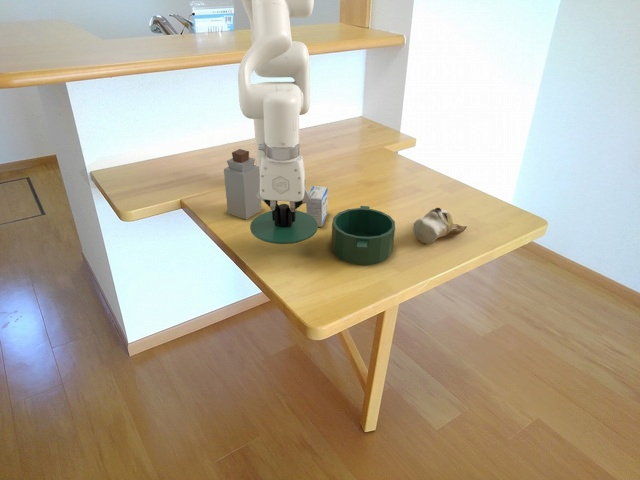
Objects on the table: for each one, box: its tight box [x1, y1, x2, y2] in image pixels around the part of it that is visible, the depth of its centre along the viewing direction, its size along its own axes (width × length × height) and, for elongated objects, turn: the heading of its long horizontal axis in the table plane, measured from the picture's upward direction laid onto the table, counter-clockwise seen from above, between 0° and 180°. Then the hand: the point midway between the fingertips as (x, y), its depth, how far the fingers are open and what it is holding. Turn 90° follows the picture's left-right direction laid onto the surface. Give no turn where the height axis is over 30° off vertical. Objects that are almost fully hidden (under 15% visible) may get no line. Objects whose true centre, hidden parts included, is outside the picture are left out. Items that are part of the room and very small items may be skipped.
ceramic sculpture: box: [413, 207, 468, 245], centre depth 124 cm, size 11×9×15 cm
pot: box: [331, 205, 396, 266], centre depth 119 cm, size 15×21×8 cm
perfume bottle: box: [223, 148, 262, 220], centre depth 132 cm, size 7×7×18 cm
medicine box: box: [305, 185, 329, 228], centre depth 131 cm, size 8×4×9 cm, turn 168°
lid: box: [249, 203, 319, 245], centre depth 114 cm, size 16×16×6 cm
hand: (284, 222), depth 115 cm, fingers closed on lid, 2 cm apart
